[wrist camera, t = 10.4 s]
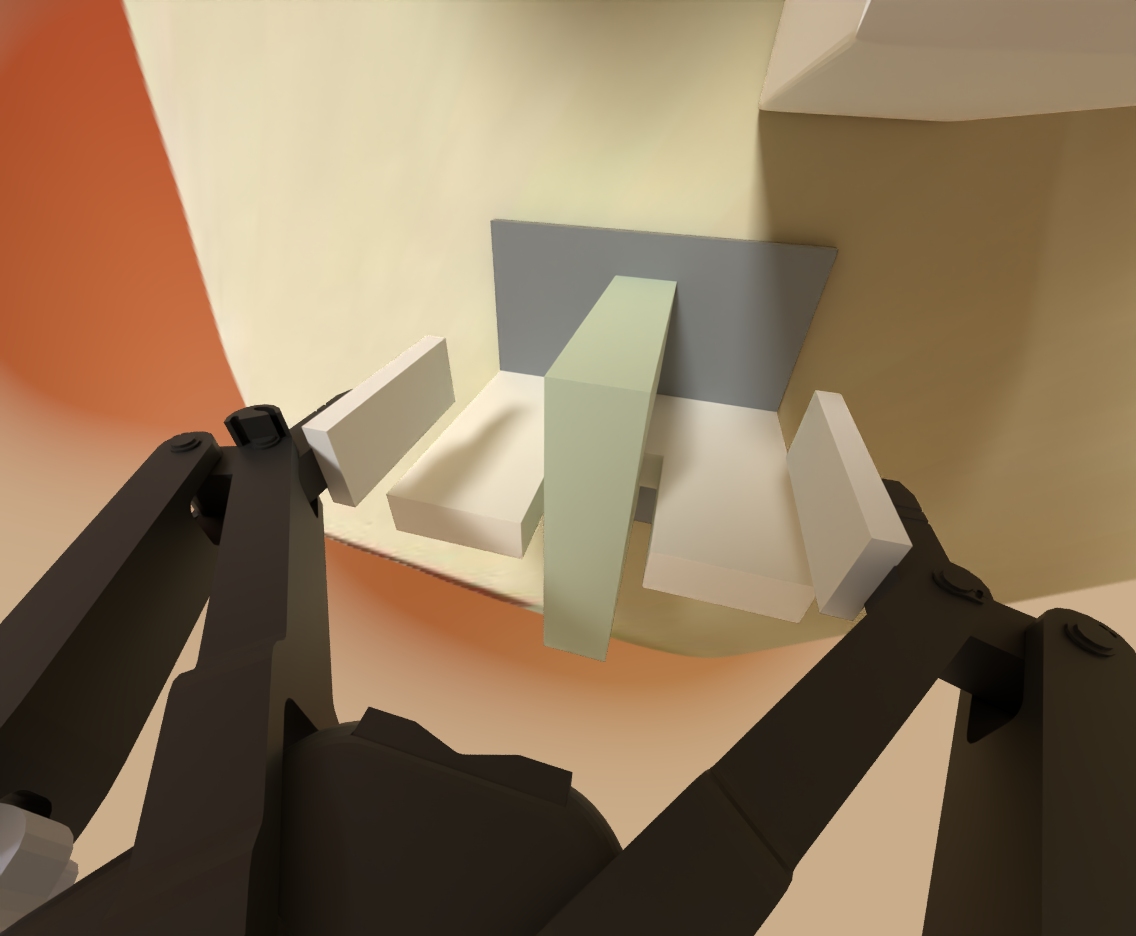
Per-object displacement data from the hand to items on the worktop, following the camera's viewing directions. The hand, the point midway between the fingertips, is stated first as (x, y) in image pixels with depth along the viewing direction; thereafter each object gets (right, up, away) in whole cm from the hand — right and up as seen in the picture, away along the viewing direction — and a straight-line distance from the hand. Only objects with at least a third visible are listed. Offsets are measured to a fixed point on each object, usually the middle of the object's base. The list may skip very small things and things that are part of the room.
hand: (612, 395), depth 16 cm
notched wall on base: (+2, +1, +10) cm, 10 cm away
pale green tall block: (+2, +1, +10) cm, 10 cm away
